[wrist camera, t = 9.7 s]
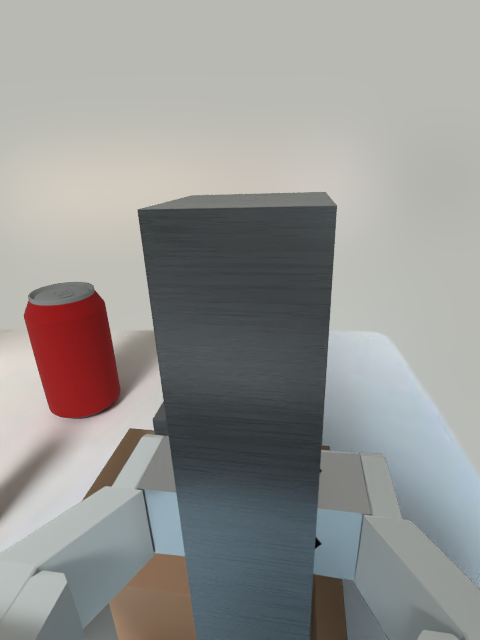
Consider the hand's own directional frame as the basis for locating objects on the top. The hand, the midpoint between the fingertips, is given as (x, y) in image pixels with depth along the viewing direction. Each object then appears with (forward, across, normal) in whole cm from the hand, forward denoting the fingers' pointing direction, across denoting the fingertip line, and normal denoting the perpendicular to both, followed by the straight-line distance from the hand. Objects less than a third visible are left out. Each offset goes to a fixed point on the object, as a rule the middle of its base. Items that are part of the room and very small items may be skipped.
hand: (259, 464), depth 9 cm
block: (+5, +5, +15) cm, 16 cm away
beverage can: (+21, +20, +15) cm, 33 cm away
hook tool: (+4, +3, +8) cm, 10 cm away
